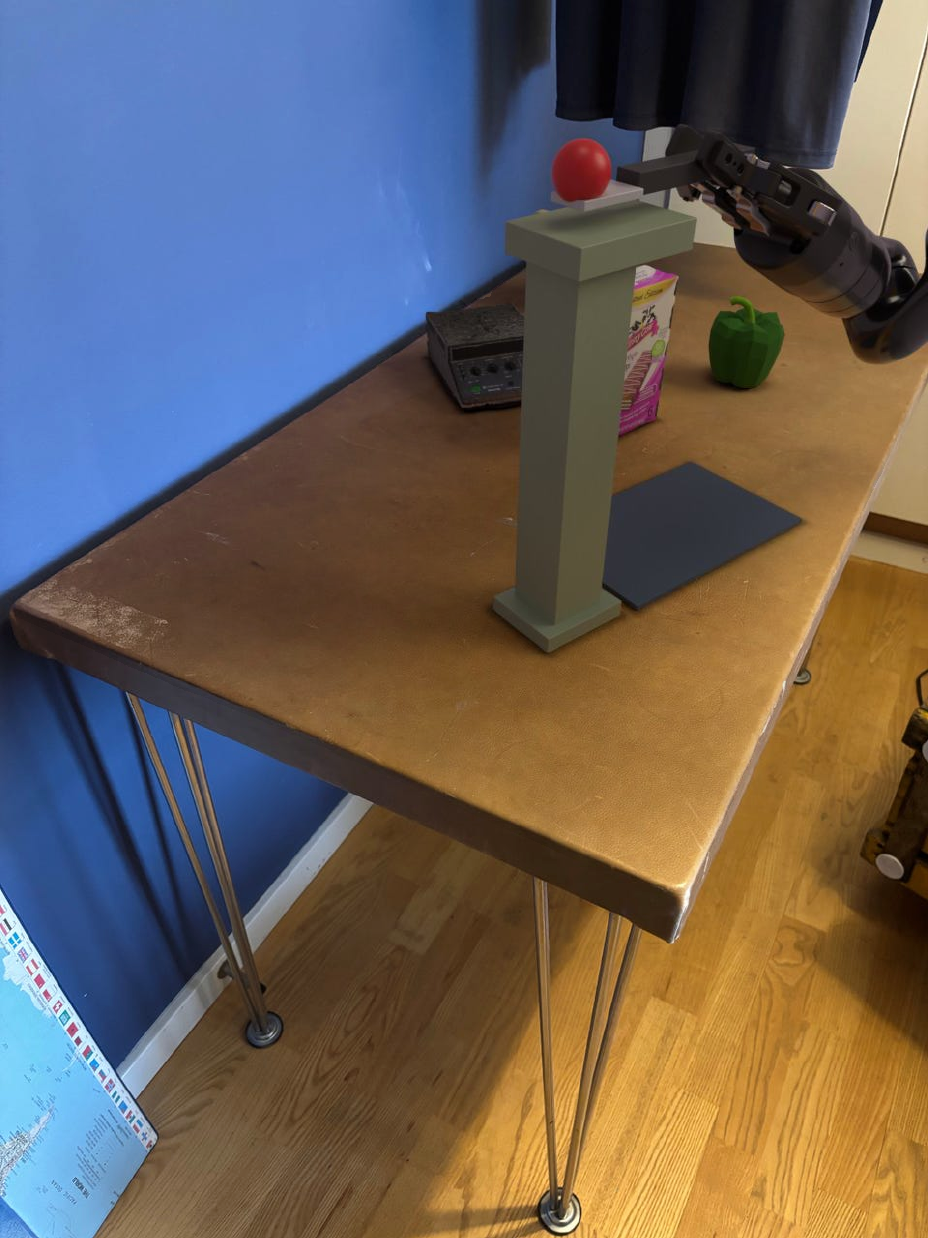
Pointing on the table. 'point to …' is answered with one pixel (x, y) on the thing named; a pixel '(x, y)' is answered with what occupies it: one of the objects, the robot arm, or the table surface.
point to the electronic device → (478, 354)
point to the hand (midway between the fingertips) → (689, 143)
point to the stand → (575, 404)
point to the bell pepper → (744, 344)
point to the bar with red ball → (617, 175)
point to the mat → (682, 531)
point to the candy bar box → (647, 346)
